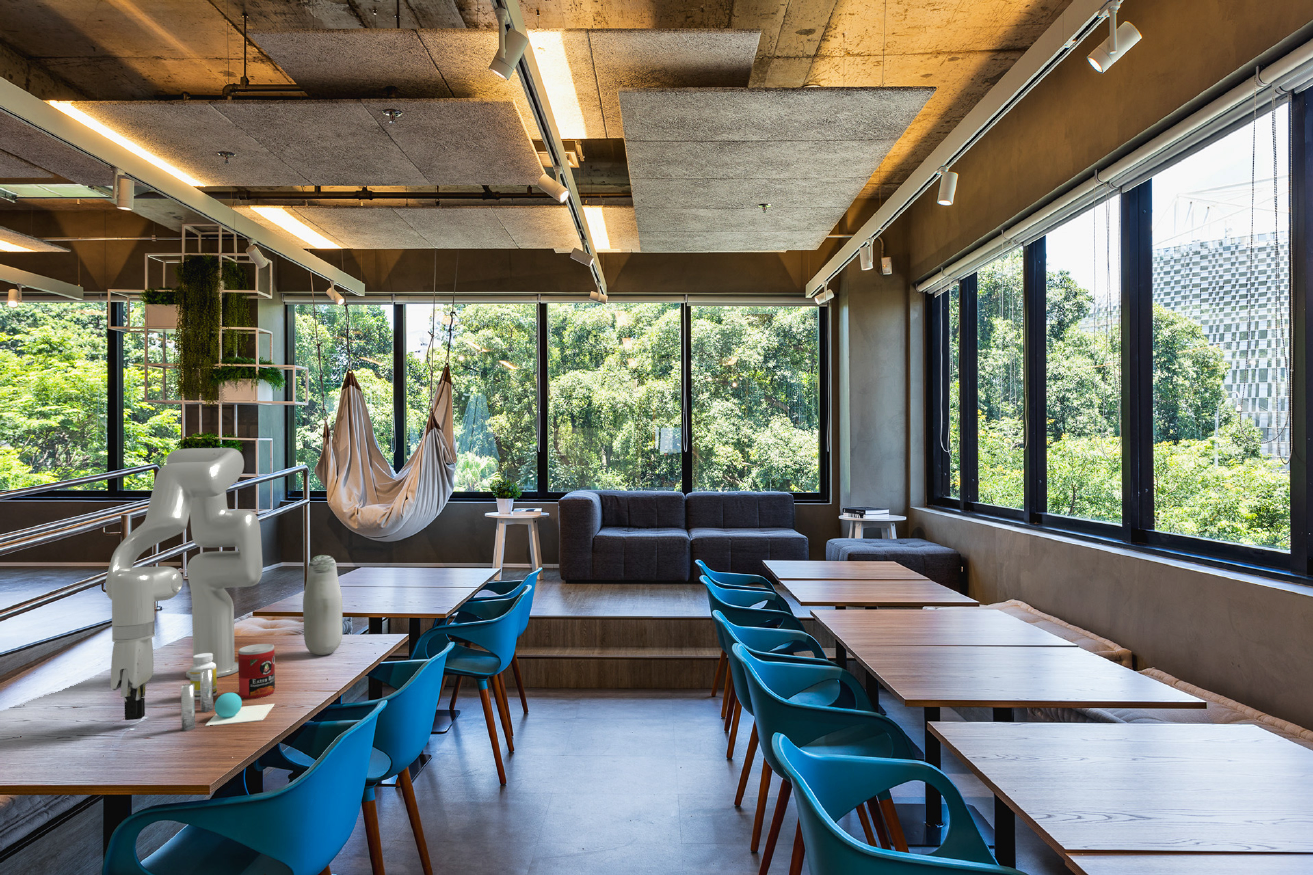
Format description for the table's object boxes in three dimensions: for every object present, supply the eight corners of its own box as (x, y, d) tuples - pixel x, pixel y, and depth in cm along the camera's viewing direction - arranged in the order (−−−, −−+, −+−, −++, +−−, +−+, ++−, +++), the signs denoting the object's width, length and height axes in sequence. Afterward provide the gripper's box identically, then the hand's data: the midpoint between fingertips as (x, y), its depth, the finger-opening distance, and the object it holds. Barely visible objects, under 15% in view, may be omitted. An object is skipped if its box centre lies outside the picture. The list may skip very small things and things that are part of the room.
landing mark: (221, 709, 174) (221, 708, 174) (274, 704, 176) (274, 703, 176) (205, 726, 163) (205, 725, 163) (262, 720, 166) (262, 719, 166)
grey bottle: (299, 654, 221) (297, 555, 221) (335, 647, 228) (333, 551, 228) (311, 660, 214) (309, 558, 214) (348, 653, 221) (346, 554, 221)
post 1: (183, 727, 163) (183, 684, 163) (196, 725, 163) (196, 682, 163) (179, 731, 160) (179, 687, 160) (192, 729, 161) (192, 686, 161)
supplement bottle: (213, 691, 188) (212, 650, 188) (219, 696, 184) (219, 654, 184) (187, 696, 184) (187, 655, 184) (194, 701, 180) (193, 659, 180)
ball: (219, 689, 171) (244, 687, 171) (221, 712, 171) (246, 710, 172) (209, 699, 165) (235, 696, 166) (211, 722, 166) (237, 720, 167)
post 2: (202, 708, 174) (202, 668, 175) (214, 707, 175) (214, 667, 175) (199, 712, 172) (198, 671, 172) (211, 711, 173) (210, 670, 173)
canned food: (251, 701, 179) (250, 653, 179) (231, 696, 184) (231, 649, 184) (282, 692, 186) (281, 645, 186) (262, 687, 190) (262, 642, 190)
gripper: (128, 625, 171) (129, 708, 171) (97, 640, 157) (98, 732, 157) (166, 622, 173) (167, 705, 173) (139, 637, 159) (140, 728, 158)
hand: (134, 717), depth 165 cm, fingers closed
